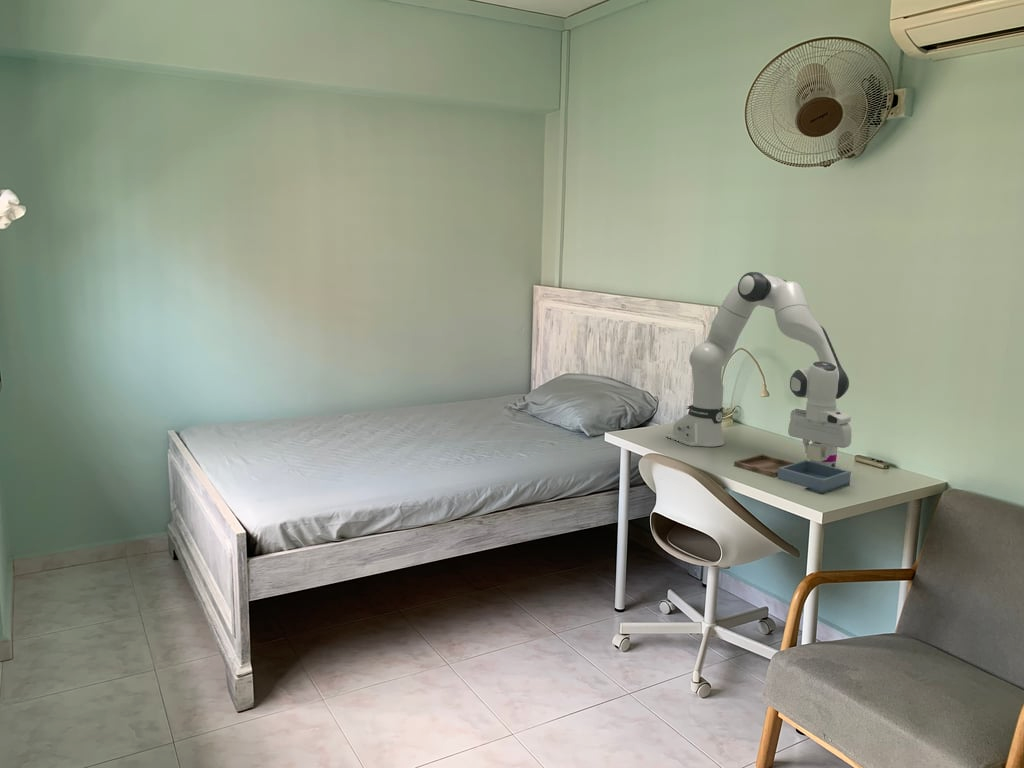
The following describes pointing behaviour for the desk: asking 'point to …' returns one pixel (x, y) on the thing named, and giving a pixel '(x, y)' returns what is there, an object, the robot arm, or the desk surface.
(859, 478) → the desk surface
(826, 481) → the slate-blue bin
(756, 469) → the walnut tray
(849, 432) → the robot arm
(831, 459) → the supplement can
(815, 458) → the sandstone block
